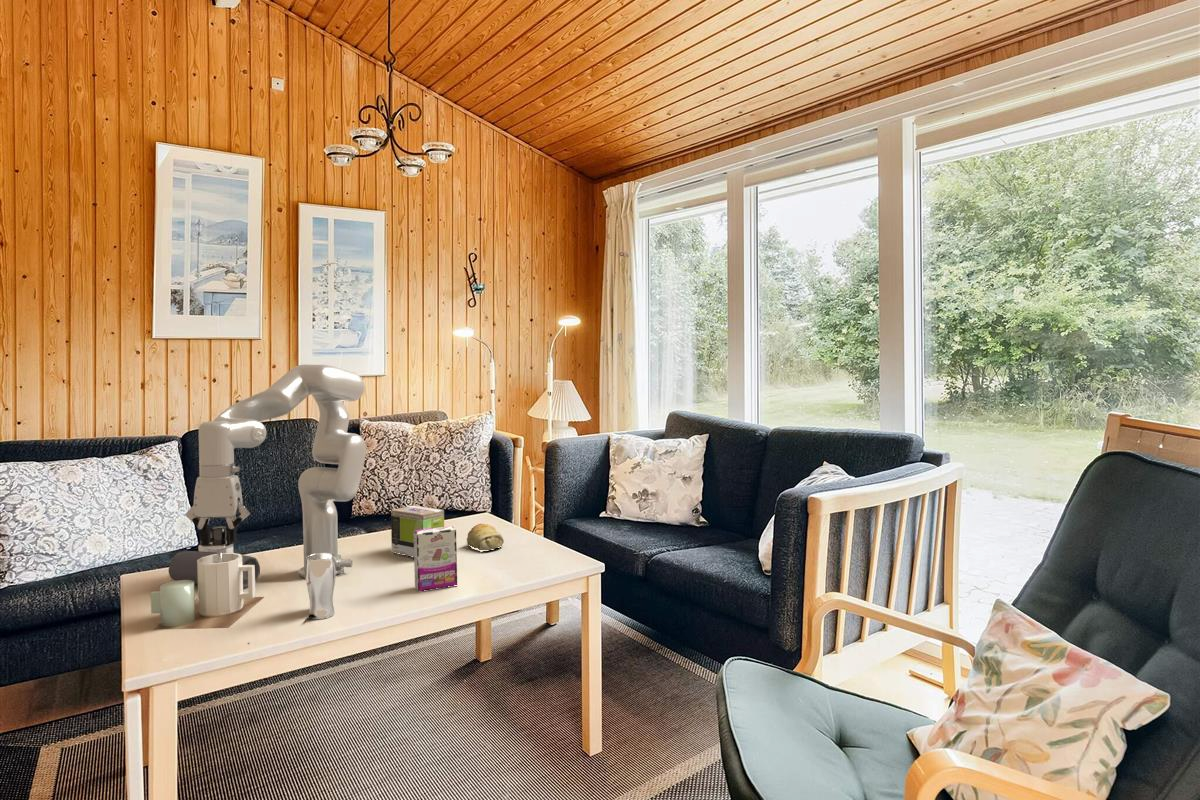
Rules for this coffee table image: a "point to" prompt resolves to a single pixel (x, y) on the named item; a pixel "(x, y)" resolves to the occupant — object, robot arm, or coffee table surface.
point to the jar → (203, 548)
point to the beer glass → (320, 584)
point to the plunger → (218, 541)
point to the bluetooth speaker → (186, 566)
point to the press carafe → (223, 584)
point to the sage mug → (174, 603)
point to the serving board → (216, 621)
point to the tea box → (412, 525)
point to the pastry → (484, 537)
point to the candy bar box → (435, 558)
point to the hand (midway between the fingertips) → (218, 543)
